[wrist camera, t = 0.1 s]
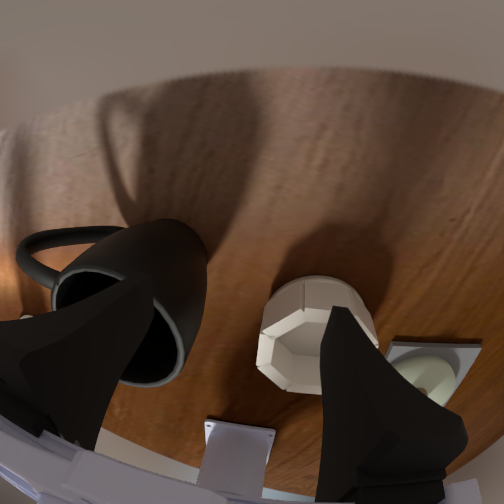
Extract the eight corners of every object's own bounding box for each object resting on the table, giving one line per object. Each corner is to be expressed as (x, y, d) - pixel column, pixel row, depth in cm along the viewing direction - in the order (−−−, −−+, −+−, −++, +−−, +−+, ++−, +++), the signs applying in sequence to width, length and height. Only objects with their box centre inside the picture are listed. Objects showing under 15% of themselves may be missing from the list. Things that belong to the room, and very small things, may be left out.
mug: (105, 155, 20) (10, 193, 12) (246, 239, 22) (214, 328, 13) (77, 241, 24) (3, 302, 16) (196, 316, 26) (155, 406, 17)
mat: (430, 419, 29) (431, 423, 28) (352, 420, 30) (352, 425, 29) (479, 343, 23) (481, 347, 23) (391, 341, 24) (392, 345, 24)
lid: (428, 414, 27) (437, 447, 23) (352, 415, 28) (355, 452, 24) (467, 355, 23) (484, 390, 19) (383, 353, 24) (393, 395, 20)
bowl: (350, 359, 26) (355, 396, 22) (259, 350, 26) (253, 387, 22) (377, 282, 22) (390, 316, 18) (269, 268, 23) (263, 302, 19)
